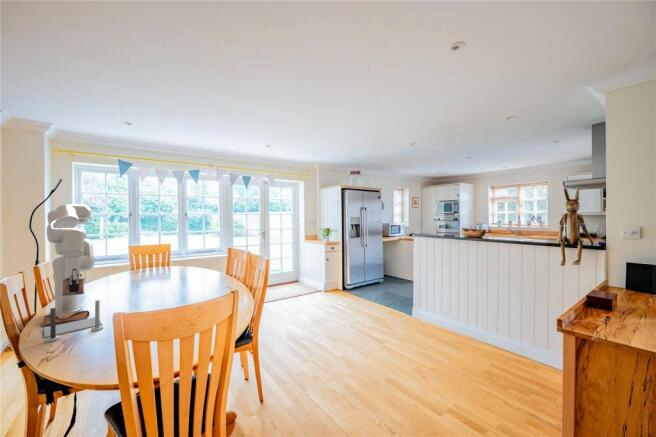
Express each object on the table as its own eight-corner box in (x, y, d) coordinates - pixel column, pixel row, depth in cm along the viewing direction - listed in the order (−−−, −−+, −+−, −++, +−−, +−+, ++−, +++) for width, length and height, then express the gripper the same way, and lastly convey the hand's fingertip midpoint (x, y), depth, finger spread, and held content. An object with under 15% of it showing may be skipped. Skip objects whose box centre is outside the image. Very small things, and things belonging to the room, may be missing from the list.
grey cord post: (90, 329, 131) (90, 300, 131) (102, 326, 134) (102, 298, 134) (91, 332, 128) (92, 302, 128) (103, 329, 131) (104, 300, 131)
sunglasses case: (37, 328, 132) (40, 314, 135) (42, 330, 137) (44, 317, 140) (86, 320, 142) (88, 307, 144) (88, 323, 147) (90, 311, 149)
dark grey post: (45, 340, 120) (45, 308, 119) (59, 336, 123) (59, 306, 123) (46, 343, 117) (46, 311, 117) (60, 339, 120) (60, 308, 120)
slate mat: (43, 329, 131) (43, 327, 131) (97, 317, 146) (97, 316, 146) (44, 338, 121) (44, 336, 121) (102, 325, 136) (102, 323, 136)
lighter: (60, 296, 130) (60, 275, 130) (64, 294, 133) (64, 274, 133) (82, 294, 133) (82, 274, 133) (85, 292, 136) (85, 272, 136)
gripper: (61, 253, 136) (61, 289, 136) (64, 256, 125) (64, 296, 125) (81, 251, 141) (81, 286, 142) (85, 255, 130) (85, 292, 130)
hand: (73, 290), depth 133 cm, fingers closed on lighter, 4 cm apart
